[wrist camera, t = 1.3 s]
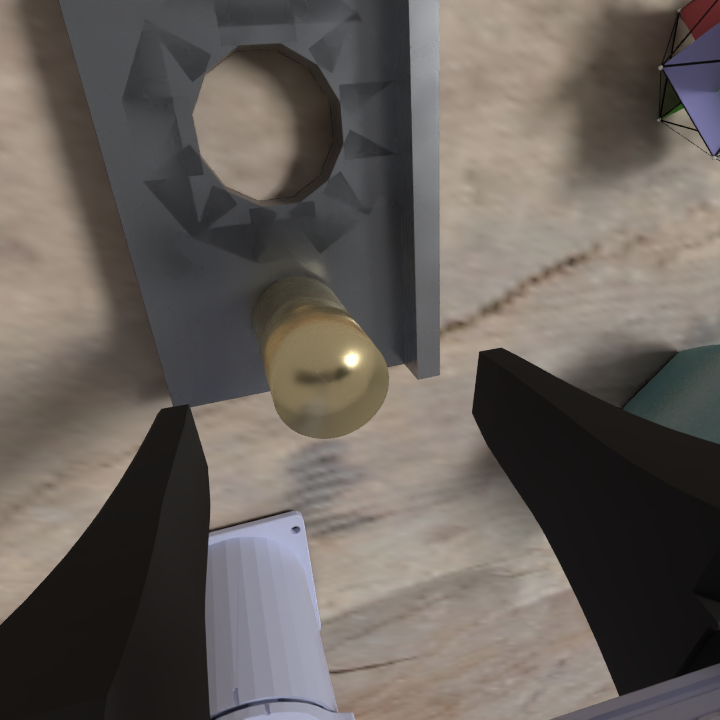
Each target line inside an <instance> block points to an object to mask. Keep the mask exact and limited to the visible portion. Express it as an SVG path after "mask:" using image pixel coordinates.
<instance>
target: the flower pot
mask: <svg viewBox="0 0 720 720" xmlns="http://www.w3.org/2000/svg"><path fill="white" fill-rule="evenodd" d="M623 410H624V411H627V412H629V413H631V414H634V415H637V416H639V417H642V418H644V419H647V420H649V421H652V422H654V423H657V424H659V425H662V426H665V427H668V428H671V429H673V430H676V431H679V432H682V433H686V434H689V435H692V436H695V437H698V438H701V439H704V440H707V441H711V442H714V443H718V444H720V345H710V346H702V347H697V348H692V349H688V350H683V351H681V352H679V353H678V354H676V355H675V356H674V357H673V358H672V359H671V360H670V361H669V362H668V363H667V364H666V365H665V366H664V367H663V368H662V369H661V370H660V372H659V373H658V374H657V375H656V376H655V377H654V378H653V379H652V380H651V381H650V382H649V383H648V384H647V385H646V386H644V387H643V388H642V389H641V390H640V391H639V392H638V393H637V394H636V395H635V396H634V397H633V398H632V399H631V400H630V401H629V402H628V403H627V404H626V405H625V406H624V408H623Z"/></svg>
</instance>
